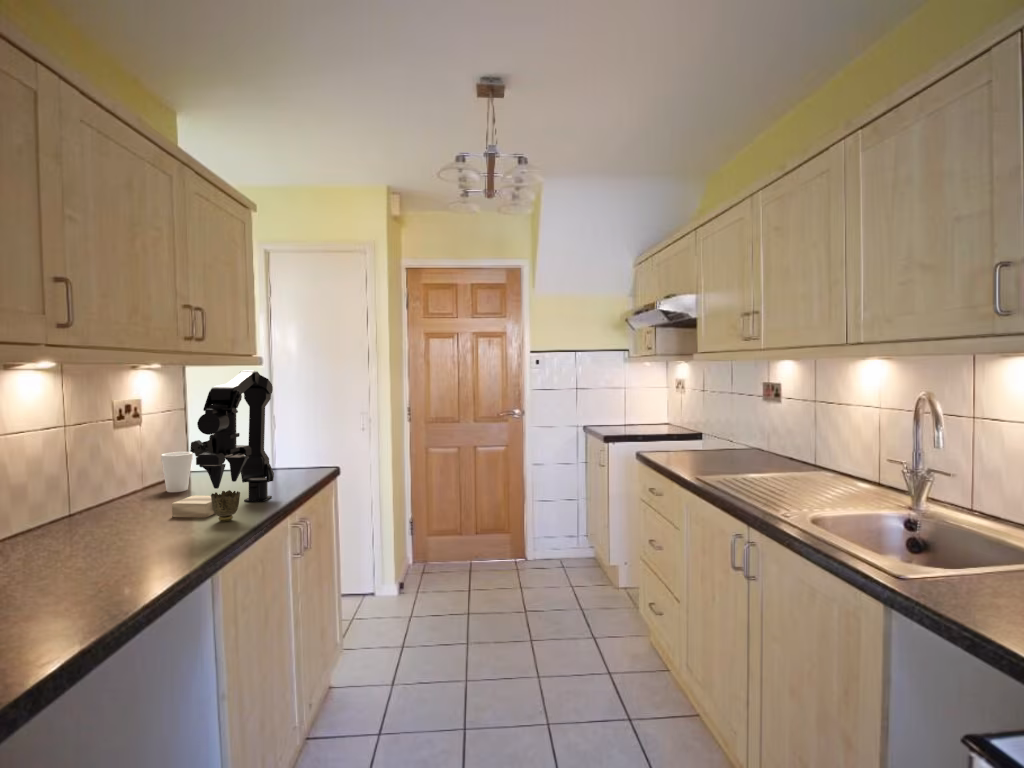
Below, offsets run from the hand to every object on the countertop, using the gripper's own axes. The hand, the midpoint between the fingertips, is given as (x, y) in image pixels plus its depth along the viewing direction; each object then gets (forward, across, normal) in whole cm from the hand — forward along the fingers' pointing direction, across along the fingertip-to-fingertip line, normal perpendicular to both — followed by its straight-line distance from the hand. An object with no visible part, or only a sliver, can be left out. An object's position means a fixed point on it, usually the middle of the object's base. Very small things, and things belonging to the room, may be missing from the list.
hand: (225, 484), depth 155 cm
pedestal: (+10, -8, -12) cm, 18 cm away
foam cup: (+11, -37, -38) cm, 54 cm away
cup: (+10, 0, 0) cm, 11 cm away
